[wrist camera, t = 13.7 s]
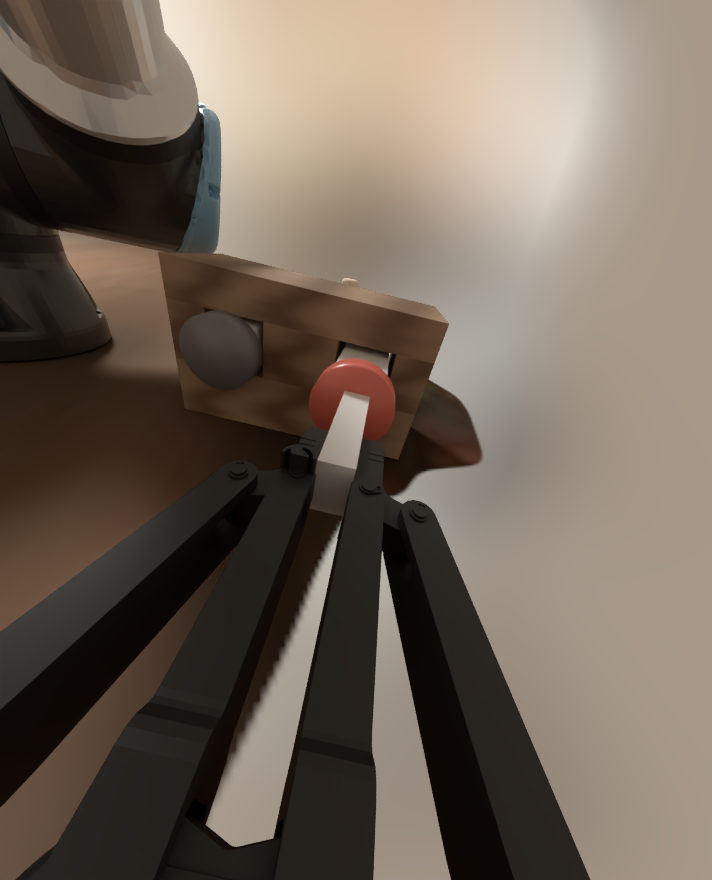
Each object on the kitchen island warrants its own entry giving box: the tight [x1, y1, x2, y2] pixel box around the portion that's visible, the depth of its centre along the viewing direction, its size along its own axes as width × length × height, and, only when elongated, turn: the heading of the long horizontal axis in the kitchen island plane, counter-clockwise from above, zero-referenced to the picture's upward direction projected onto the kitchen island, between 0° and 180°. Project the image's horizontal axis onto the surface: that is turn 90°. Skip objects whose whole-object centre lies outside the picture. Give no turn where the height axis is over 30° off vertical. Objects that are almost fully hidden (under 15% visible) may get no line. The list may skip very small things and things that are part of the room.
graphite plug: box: [179, 310, 263, 390], centre depth 24 cm, size 5×13×5 cm, turn 173°
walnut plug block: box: [158, 252, 449, 460], centre depth 25 cm, size 20×8×12 cm, turn 83°
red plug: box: [309, 342, 395, 441], centre depth 22 cm, size 5×13×5 cm, turn 173°
